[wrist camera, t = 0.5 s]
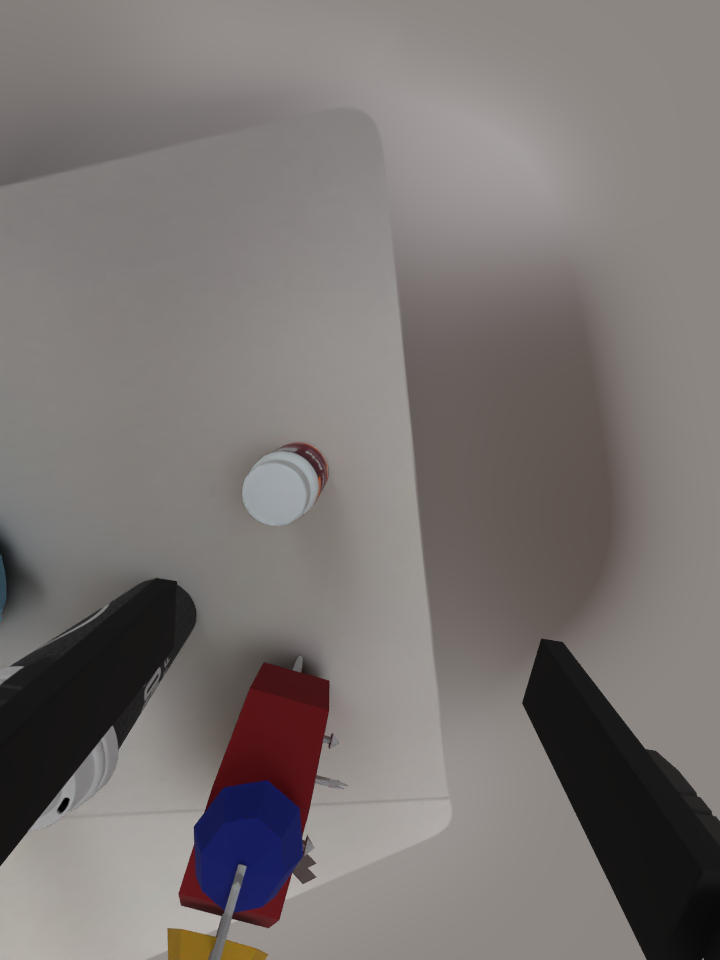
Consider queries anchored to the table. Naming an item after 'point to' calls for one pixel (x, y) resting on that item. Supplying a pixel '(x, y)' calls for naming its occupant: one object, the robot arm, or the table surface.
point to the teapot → (2, 586)
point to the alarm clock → (257, 813)
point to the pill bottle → (285, 483)
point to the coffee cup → (106, 751)
